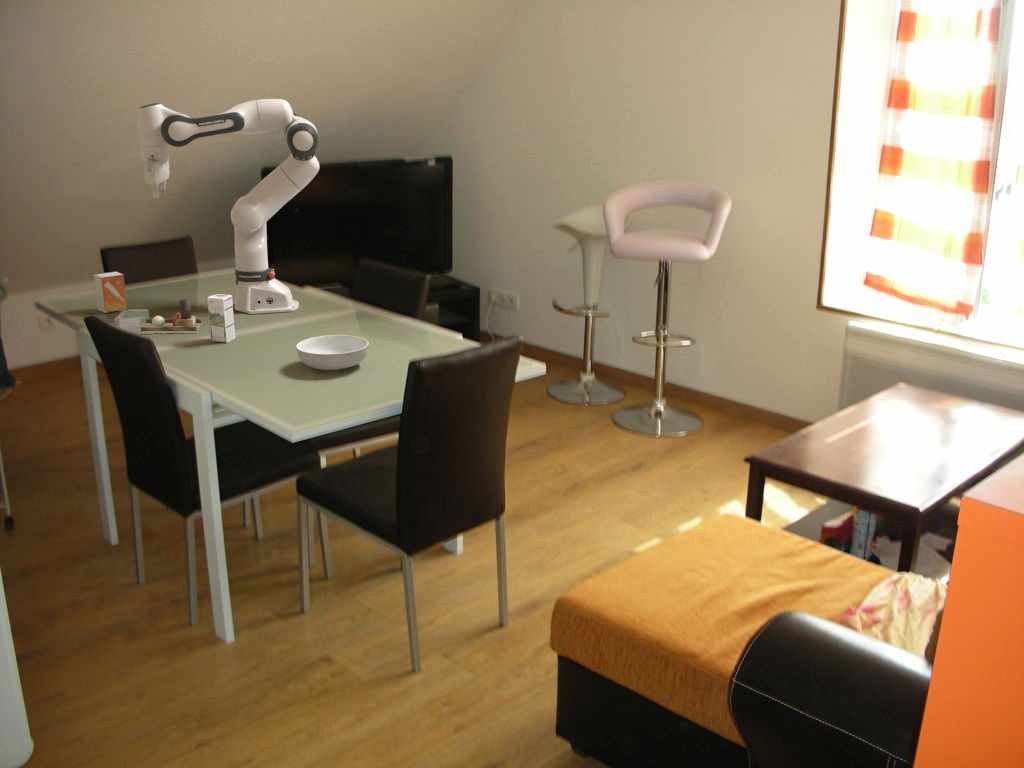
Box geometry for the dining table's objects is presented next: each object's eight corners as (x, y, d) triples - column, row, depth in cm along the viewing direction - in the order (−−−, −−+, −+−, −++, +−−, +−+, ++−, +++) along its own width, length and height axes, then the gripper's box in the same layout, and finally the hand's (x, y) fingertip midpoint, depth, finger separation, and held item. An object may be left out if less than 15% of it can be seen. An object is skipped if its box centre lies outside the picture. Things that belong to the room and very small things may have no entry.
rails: (202, 322, 352) (201, 318, 351) (196, 331, 341) (196, 326, 341) (146, 323, 350) (146, 319, 349) (139, 332, 339) (139, 327, 339)
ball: (166, 326, 347) (165, 314, 346) (163, 329, 343) (162, 317, 342) (153, 326, 347) (152, 314, 345) (151, 329, 343) (150, 317, 342)
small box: (105, 314, 362) (100, 277, 358) (97, 310, 367) (93, 274, 363) (127, 310, 368) (123, 274, 364) (119, 307, 372) (115, 271, 368)
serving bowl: (336, 352, 321) (335, 330, 319) (383, 365, 309) (383, 342, 306) (282, 367, 306) (280, 344, 304) (330, 381, 293) (329, 358, 291)
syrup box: (236, 338, 334) (232, 294, 330) (226, 343, 329) (222, 298, 324) (220, 337, 336) (216, 292, 331) (210, 341, 330) (206, 297, 326)
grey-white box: (149, 323, 351) (148, 309, 349) (141, 334, 338) (139, 319, 337) (125, 324, 350) (123, 309, 348) (115, 334, 338) (114, 319, 336)
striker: (196, 323, 350) (194, 297, 347) (192, 329, 343) (190, 302, 340) (177, 324, 349) (175, 297, 346) (173, 330, 342) (170, 303, 339)
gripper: (157, 157, 337) (162, 200, 342) (171, 150, 357) (175, 191, 361) (137, 157, 337) (142, 200, 341) (152, 151, 356) (156, 192, 360)
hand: (159, 196), depth 351 cm, fingers open, 8 cm apart
